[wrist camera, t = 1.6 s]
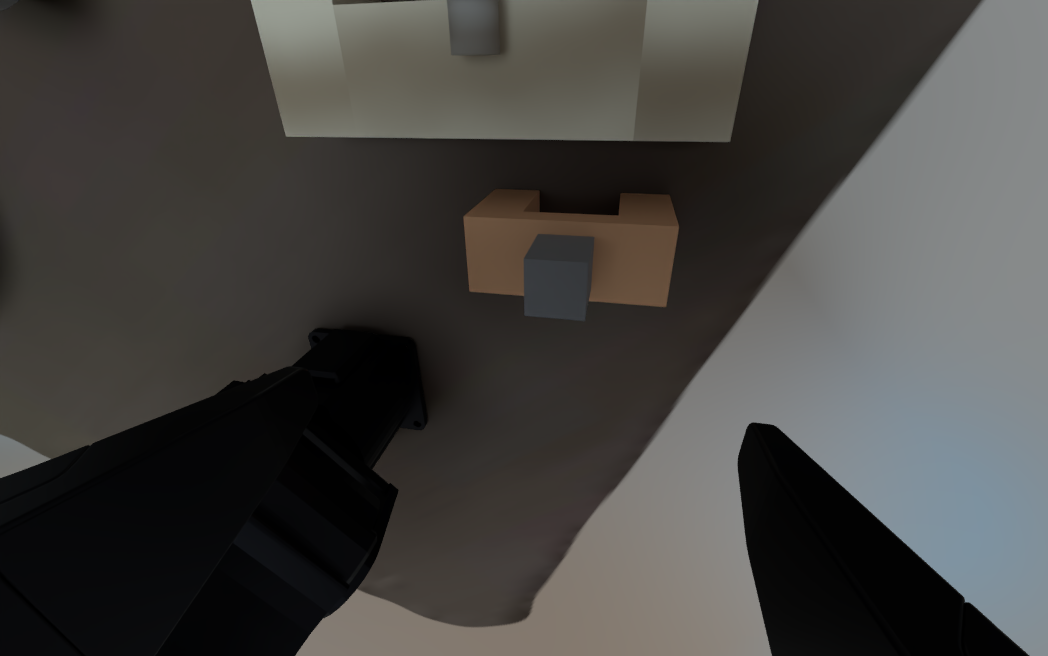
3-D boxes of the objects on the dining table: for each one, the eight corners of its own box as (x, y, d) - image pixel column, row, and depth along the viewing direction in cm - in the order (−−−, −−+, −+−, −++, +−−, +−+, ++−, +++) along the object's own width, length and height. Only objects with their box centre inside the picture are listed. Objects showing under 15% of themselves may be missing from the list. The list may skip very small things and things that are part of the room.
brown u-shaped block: (659, 262, 20) (671, 342, 14) (498, 252, 21) (447, 321, 16) (669, 194, 19) (687, 252, 13) (495, 188, 20) (438, 238, 14)
